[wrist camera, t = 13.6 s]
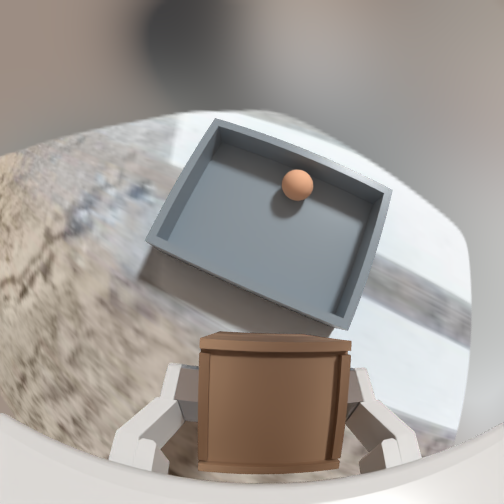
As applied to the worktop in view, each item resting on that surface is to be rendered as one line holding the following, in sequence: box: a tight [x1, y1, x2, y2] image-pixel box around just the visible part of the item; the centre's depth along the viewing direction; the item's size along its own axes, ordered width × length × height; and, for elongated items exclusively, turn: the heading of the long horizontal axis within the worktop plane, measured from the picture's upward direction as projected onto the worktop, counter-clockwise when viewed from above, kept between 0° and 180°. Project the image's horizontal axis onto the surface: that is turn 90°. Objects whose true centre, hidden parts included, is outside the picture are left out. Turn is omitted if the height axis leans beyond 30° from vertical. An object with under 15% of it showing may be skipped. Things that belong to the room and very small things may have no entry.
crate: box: [198, 331, 351, 474], centre depth 11 cm, size 5×5×8 cm
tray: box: [145, 118, 393, 330], centre depth 26 cm, size 19×14×4 cm
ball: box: [282, 170, 313, 201], centre depth 26 cm, size 3×3×3 cm
